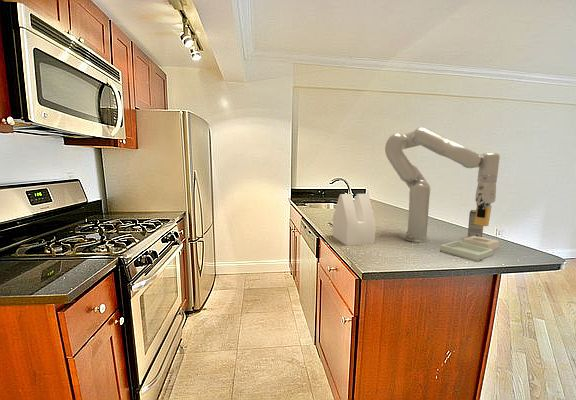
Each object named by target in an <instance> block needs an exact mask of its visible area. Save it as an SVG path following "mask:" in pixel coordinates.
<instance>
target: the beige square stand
mask: <svg viewBox="0 0 576 400" xmlns="http://www.w3.org/2000/svg"><path fill="white" fill-rule="evenodd" d="M462 242H463V243H467V244H471V245H476V246H480V247H484V248H488V249H493V250H494V251H495V250H497V249H499V245H500V241H499V240H497V239H492V238H487V237H483V236H482V237H478V236H472V237H468V238H467V237H465V238H463V239H462Z"/></svg>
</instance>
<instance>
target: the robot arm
mask: <svg viewBox="0 0 576 400" xmlns="http://www.w3.org/2000/svg"><path fill="white" fill-rule="evenodd" d="M420 146H421V147H423V148H426V149H427V150H428V151H431V152H433V153H434V154H437V155H439V156H440V157H445V158H447V159H450V160H451V161H453V162H455V163H458V164H460V165H461V166H462V167H463V168H466V169H474V168H478V172H477V180H476V181H477V186H476V191H475V192H476V193H475V202H476V203H475V205H476V208H477V209H478V210H477V217H481V218H485V211H486V210H484V209H485V205H491V204H493V203H495V202H496V194H497V183H498V182H497V180H498V172H499V165H500V158H501V155H500V154H499V153H496V152H483V153H477V152H475V151H473V150H472V149H469V148H467V147H465V146H463V145H461V144H458V143H457V142H455V141H453V140H451V139H449V138H447V137H445V136H442V135H441V134H438V133H437V132H435V131H432V130H430V129H429V128H426V127H424V126H421V127H418V128H416V129H414V130H413V131H410V132H407V133H400V132H398V133H397V132H395V133H393V134H392V135H390V136H389V137H388V139H387V140H386V143H385V148H384V151H385V156H386V158H387V160H388V162H389V164H390V165H391V166H392V168H393V169H394V171H395V172H396V174H397V175H398V177H399V178H400V180H401V181H402V182H405V184H406V185H407V186H408V189H409V193H408V195H409V197H408V198H409V199H408V200H409V201H408V202H409V203H408V219H407V220H408V221H407V231H406V233H404V234H402V238H403V239H404V240H406V241H408V242H412V243H413V242H414V243H427V242H430V240H431V239H430V237H428V236H427V233H428V223H429V222H428V221H429V220H428V219H429V208H430V207H429V206H430V195H431V185H430V184H429V182H428V181H427V180H426V178H425V177H424V175H423V174H422V173H421V171H420V170H419V168H417V166H416V165H413V164H412V163H411V162H410V160H409V159H408V157H407V155H405V153H404V151H403V150H405V149H406V150H407V149H411V148H414V147H420ZM482 204H483V205H482ZM477 206H478V207H477Z"/></svg>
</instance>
